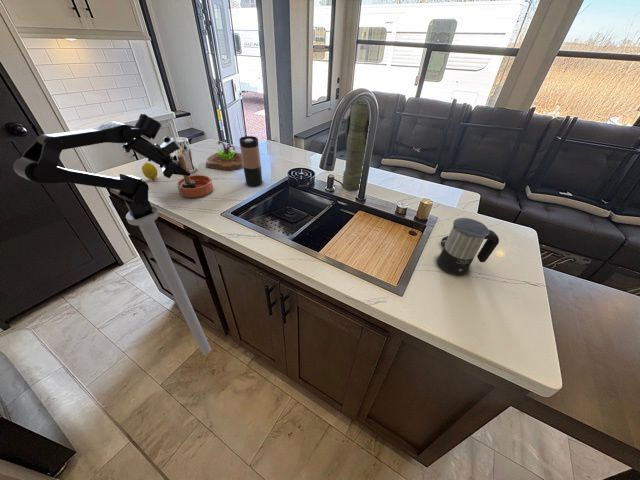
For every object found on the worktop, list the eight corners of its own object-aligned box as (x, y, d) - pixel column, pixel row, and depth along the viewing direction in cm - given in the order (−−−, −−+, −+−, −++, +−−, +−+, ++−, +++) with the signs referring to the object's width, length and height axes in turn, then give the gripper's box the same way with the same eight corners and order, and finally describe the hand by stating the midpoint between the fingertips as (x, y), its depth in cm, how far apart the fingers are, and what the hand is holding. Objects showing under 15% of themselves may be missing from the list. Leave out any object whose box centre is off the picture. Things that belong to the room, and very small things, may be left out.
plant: (215, 154, 142) (211, 134, 135) (250, 156, 142) (247, 136, 135) (201, 169, 127) (195, 146, 120) (240, 171, 126) (236, 149, 119)
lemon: (162, 178, 117) (156, 162, 112) (150, 183, 113) (143, 166, 108) (155, 175, 119) (149, 159, 114) (143, 180, 115) (136, 162, 110)
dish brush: (187, 193, 104) (177, 159, 95) (181, 189, 106) (170, 156, 98) (198, 189, 107) (189, 156, 98) (192, 185, 109) (183, 153, 101)
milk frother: (448, 278, 75) (469, 239, 66) (418, 245, 87) (432, 207, 77) (487, 270, 78) (512, 231, 69) (453, 239, 90) (470, 202, 81)
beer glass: (182, 168, 126) (172, 137, 117) (197, 167, 128) (188, 136, 119) (180, 174, 121) (170, 142, 112) (196, 173, 123) (187, 141, 114)
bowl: (190, 202, 102) (186, 192, 99) (174, 191, 108) (170, 181, 105) (219, 191, 110) (217, 181, 107) (203, 181, 116) (200, 172, 114)
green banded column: (359, 193, 113) (372, 107, 92) (336, 186, 118) (343, 102, 96) (367, 186, 119) (381, 103, 98) (345, 179, 124) (354, 99, 102)
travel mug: (255, 178, 121) (250, 134, 109) (266, 183, 118) (261, 139, 105) (242, 183, 117) (235, 138, 104) (253, 188, 113) (246, 143, 100)
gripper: (162, 139, 84) (205, 166, 96) (158, 125, 97) (196, 150, 108) (144, 166, 86) (188, 189, 97) (142, 148, 98) (182, 171, 110)
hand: (189, 173), depth 103 cm, fingers closed on dish brush, 2 cm apart
